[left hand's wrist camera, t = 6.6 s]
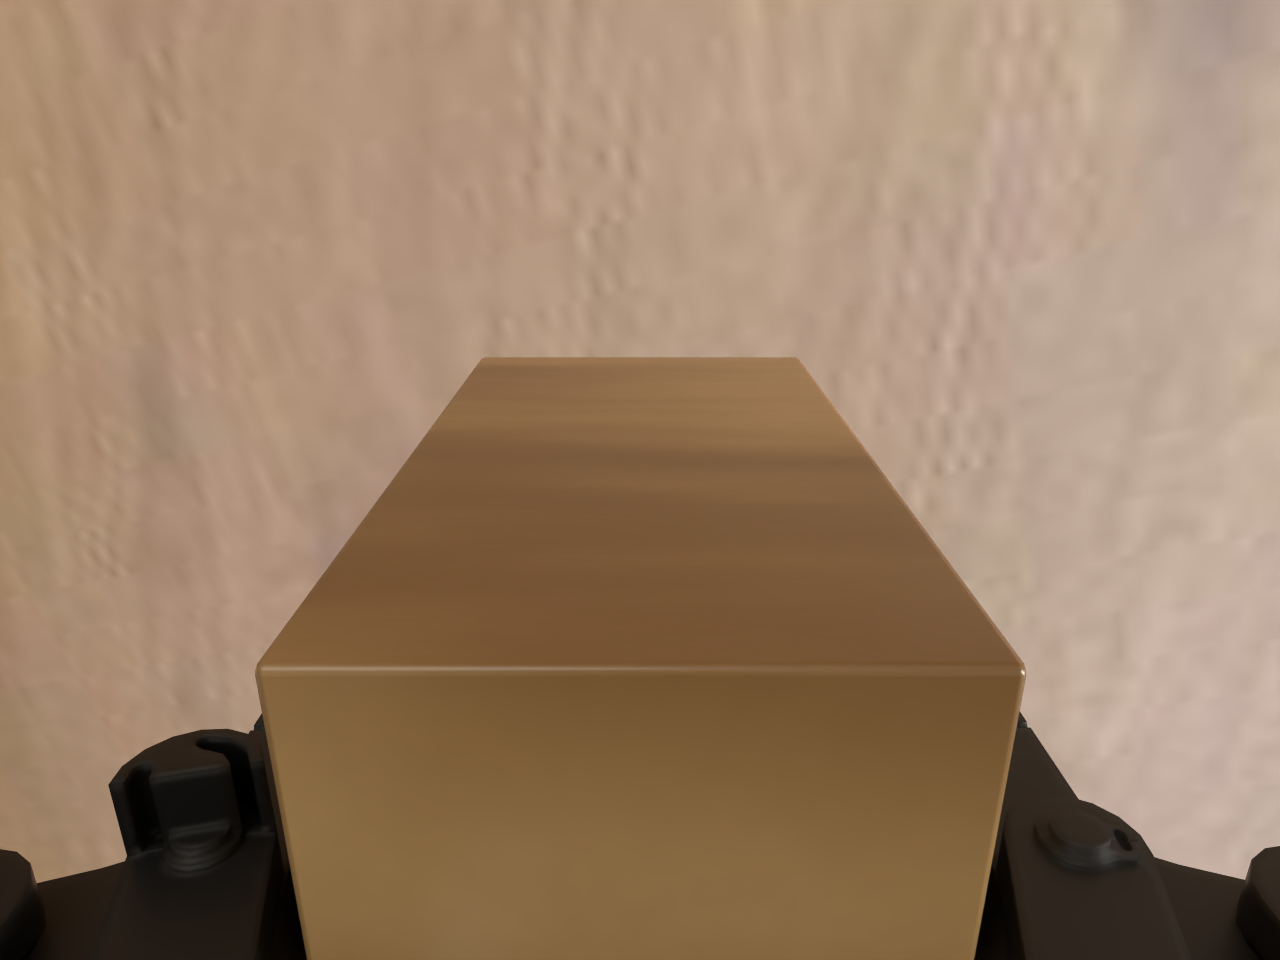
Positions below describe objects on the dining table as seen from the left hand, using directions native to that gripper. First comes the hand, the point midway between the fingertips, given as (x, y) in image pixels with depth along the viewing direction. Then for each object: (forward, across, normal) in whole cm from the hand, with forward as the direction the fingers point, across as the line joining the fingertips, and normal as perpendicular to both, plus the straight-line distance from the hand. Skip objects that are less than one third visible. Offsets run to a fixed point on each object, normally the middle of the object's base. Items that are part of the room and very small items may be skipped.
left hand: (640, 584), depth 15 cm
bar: (+1, 0, -7) cm, 7 cm away
